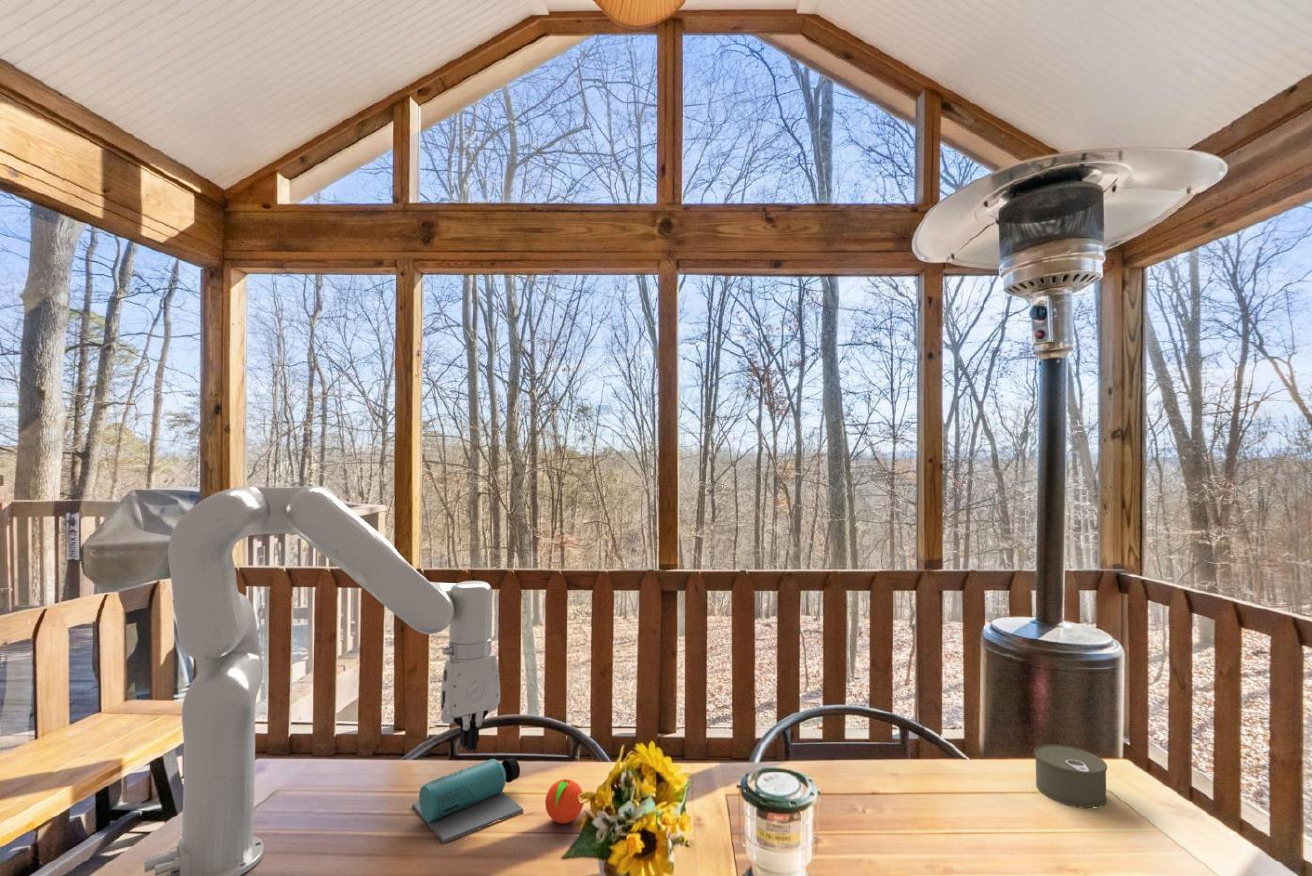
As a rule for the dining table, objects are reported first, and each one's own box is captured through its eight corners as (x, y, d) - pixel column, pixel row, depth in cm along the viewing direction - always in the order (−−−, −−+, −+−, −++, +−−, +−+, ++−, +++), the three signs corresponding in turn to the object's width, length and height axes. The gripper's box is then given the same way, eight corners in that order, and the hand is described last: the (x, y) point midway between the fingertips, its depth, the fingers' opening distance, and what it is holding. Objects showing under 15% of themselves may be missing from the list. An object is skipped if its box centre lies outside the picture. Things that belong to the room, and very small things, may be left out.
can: (1085, 779, 132) (1085, 745, 132) (1121, 811, 120) (1121, 773, 120) (1024, 776, 133) (1023, 742, 133) (1053, 807, 121) (1052, 770, 121)
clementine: (574, 837, 111) (575, 795, 111) (536, 832, 112) (537, 791, 112) (588, 812, 119) (589, 773, 119) (553, 808, 120) (553, 769, 120)
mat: (443, 843, 109) (443, 839, 109) (412, 806, 120) (412, 803, 120) (523, 812, 118) (523, 808, 118) (487, 780, 130) (487, 777, 130)
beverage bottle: (429, 820, 110) (529, 779, 124) (420, 780, 113) (517, 745, 127) (416, 831, 114) (514, 790, 128) (407, 792, 117) (503, 756, 131)
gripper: (439, 661, 113) (437, 767, 112) (516, 645, 122) (515, 743, 122) (423, 651, 119) (422, 752, 118) (498, 637, 128) (497, 730, 128)
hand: (469, 747), depth 120 cm, fingers closed
